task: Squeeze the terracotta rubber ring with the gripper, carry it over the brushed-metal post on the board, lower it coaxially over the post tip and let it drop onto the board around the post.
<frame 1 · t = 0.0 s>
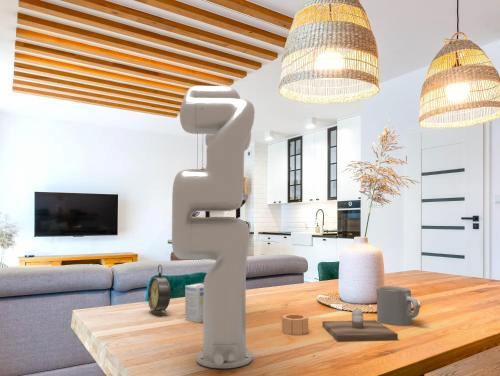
hand: (222, 219, 139), 31 cm above the table, tool pointing down, fingers open, 9 cm apart
post base: (357, 332, 113), on the table
coffee mug: (398, 323, 124), on the table
alarm clock: (159, 314, 138), on the table
ring: (294, 331, 115), on the table
light bulb box: (203, 319, 131), on the table
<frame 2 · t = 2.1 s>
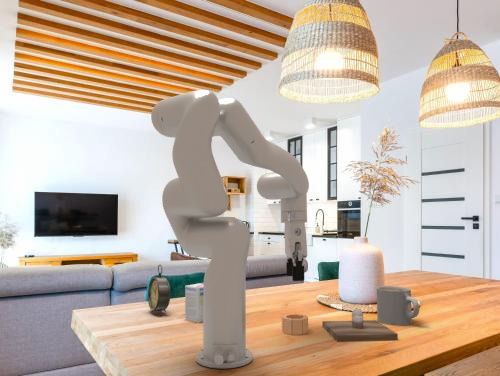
hand: (295, 278, 117), 15 cm above the table, tool pointing down, fingers open, 9 cm apart
nothing on the table moved.
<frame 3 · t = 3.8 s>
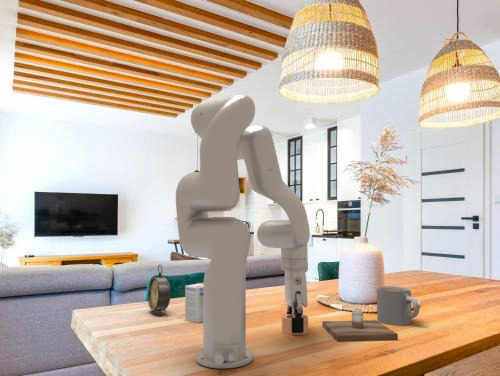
hand: (295, 328, 115), 1 cm above the table, tool pointing down, fingers closed on ring, 7 cm apart
ring: (295, 331, 115), on the table, touching gripper
everything else where it was.
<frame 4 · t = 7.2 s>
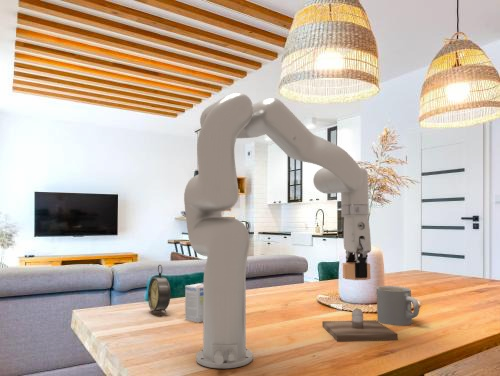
hand: (356, 275, 115), 16 cm above the table, tool pointing down, fingers closed on ring, 7 cm apart
ring: (356, 278, 115), point 15 cm above the table, touching gripper
everything else where it was.
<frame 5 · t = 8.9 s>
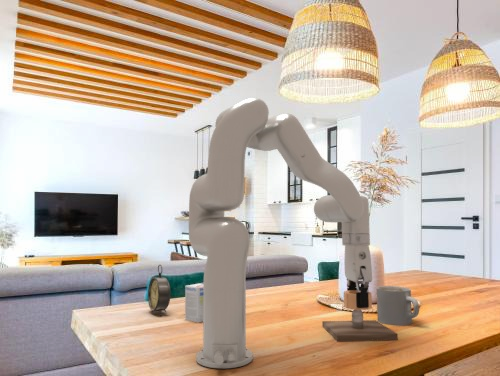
hand: (357, 304, 114), 8 cm above the table, tool pointing down, fingers closed on ring, 7 cm apart
ring: (357, 307, 114), point 7 cm above the table, touching gripper
everything else where it was.
when the fingers open (4 cm above the table, at t = 10.5 s): ring drops 1 cm, resting on post base.
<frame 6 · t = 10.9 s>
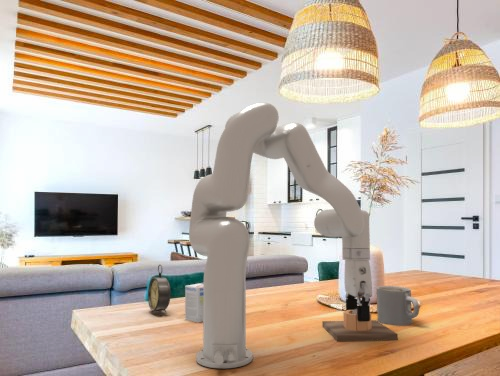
hand: (357, 316, 114), 4 cm above the table, tool pointing down, fingers open, 9 cm apart
ring: (357, 327, 113), point 1 cm above the table, touching post base
everything else where it was.
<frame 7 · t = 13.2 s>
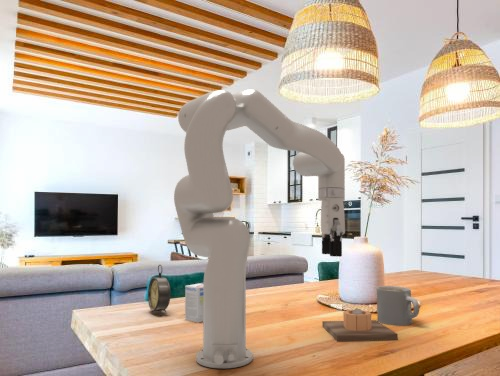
hand: (331, 255, 117), 21 cm above the table, tool pointing down, fingers open, 9 cm apart
nothing on the table moved.
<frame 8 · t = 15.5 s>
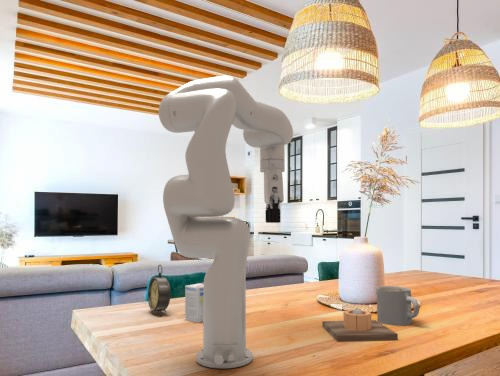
hand: (272, 222, 125), 30 cm above the table, tool pointing down, fingers open, 9 cm apart
nothing on the table moved.
at the end: ring 0.0 cm from the post base (horizontally); ring point 1.5 cm above the table; the gripper is holding nothing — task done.
